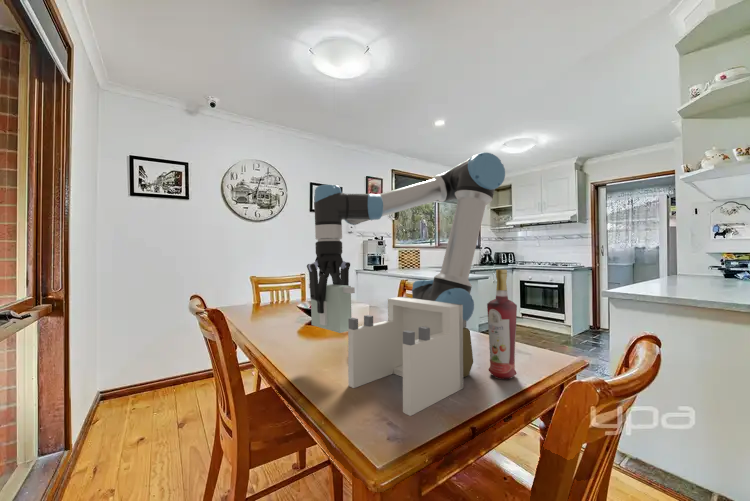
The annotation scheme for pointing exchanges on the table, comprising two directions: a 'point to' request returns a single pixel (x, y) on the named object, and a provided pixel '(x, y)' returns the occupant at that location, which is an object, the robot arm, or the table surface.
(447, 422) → the table surface
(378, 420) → the table surface
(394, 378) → the table surface
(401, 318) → the cabinet
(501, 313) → the liquor
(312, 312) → the door
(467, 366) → the squeeze bottle
